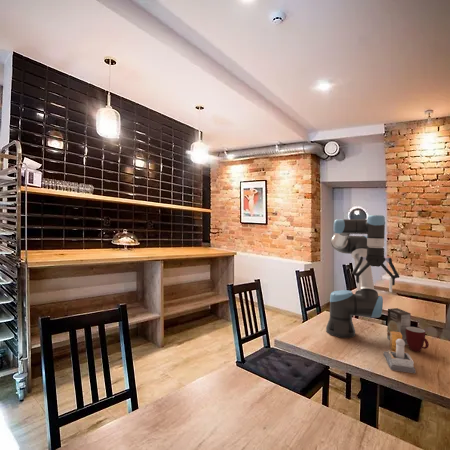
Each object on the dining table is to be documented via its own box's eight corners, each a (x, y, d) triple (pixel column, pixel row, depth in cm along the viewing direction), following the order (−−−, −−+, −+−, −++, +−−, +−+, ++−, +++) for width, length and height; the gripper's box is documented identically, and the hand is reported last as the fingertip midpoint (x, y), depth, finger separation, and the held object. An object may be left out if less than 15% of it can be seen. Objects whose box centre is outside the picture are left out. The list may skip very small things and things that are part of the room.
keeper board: (383, 354, 136) (383, 329, 136) (405, 357, 133) (405, 332, 133) (390, 369, 122) (391, 342, 122) (415, 373, 119) (416, 345, 119)
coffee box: (386, 338, 155) (386, 308, 155) (396, 337, 157) (397, 307, 157) (400, 345, 146) (400, 313, 146) (410, 344, 148) (411, 313, 148)
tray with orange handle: (384, 351, 135) (385, 330, 135) (404, 354, 133) (404, 332, 133) (391, 365, 123) (391, 341, 122) (413, 368, 120) (413, 344, 120)
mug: (434, 354, 137) (434, 332, 137) (423, 357, 134) (424, 335, 134) (411, 345, 147) (412, 325, 147) (401, 348, 143) (401, 327, 143)
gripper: (348, 246, 141) (347, 290, 141) (407, 248, 133) (406, 294, 133) (347, 245, 148) (346, 287, 148) (402, 247, 140) (402, 291, 140)
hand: (374, 290), depth 141 cm, fingers open, 13 cm apart
